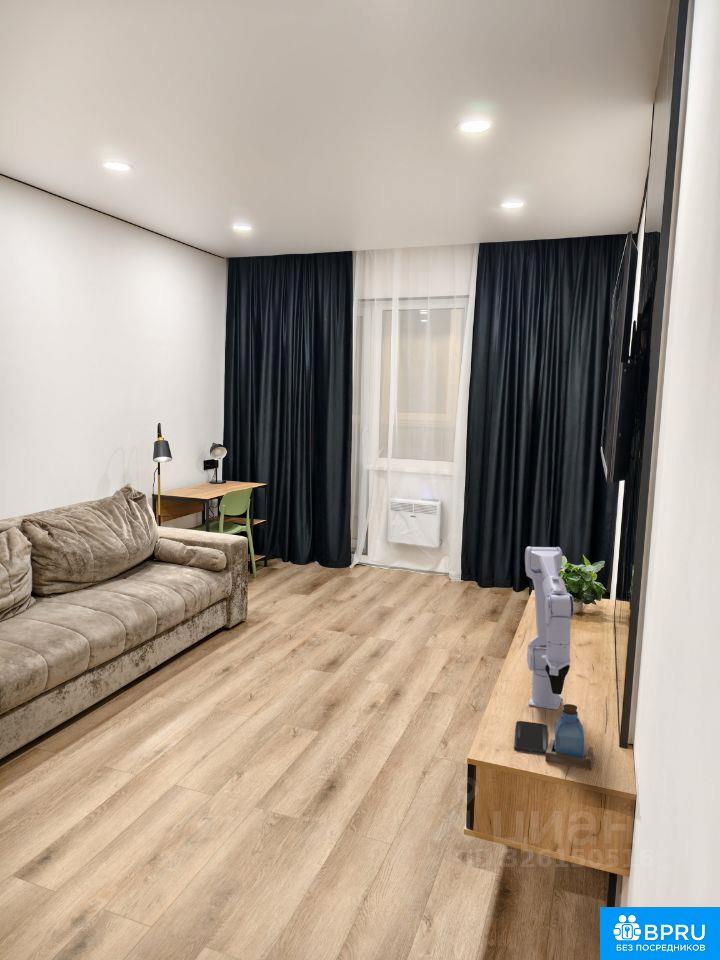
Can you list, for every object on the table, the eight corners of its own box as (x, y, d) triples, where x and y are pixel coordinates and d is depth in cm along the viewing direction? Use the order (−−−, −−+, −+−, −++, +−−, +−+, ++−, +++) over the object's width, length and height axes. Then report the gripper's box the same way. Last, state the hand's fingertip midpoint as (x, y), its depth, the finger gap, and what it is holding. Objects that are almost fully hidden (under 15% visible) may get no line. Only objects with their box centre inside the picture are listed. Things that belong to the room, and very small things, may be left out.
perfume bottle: (581, 751, 156) (583, 703, 155) (583, 764, 150) (585, 714, 149) (554, 748, 158) (556, 700, 157) (555, 760, 152) (556, 710, 151)
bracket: (550, 746, 158) (550, 738, 158) (593, 755, 154) (593, 747, 154) (545, 760, 151) (545, 752, 151) (590, 769, 147) (591, 761, 147)
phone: (547, 724, 168) (547, 751, 154) (547, 728, 169) (547, 756, 154) (516, 720, 171) (513, 747, 156) (515, 724, 171) (513, 751, 156)
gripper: (546, 631, 174) (545, 680, 175) (537, 648, 161) (536, 701, 162) (574, 634, 171) (572, 684, 172) (567, 652, 158) (565, 706, 159)
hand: (556, 693), depth 167 cm, fingers closed
